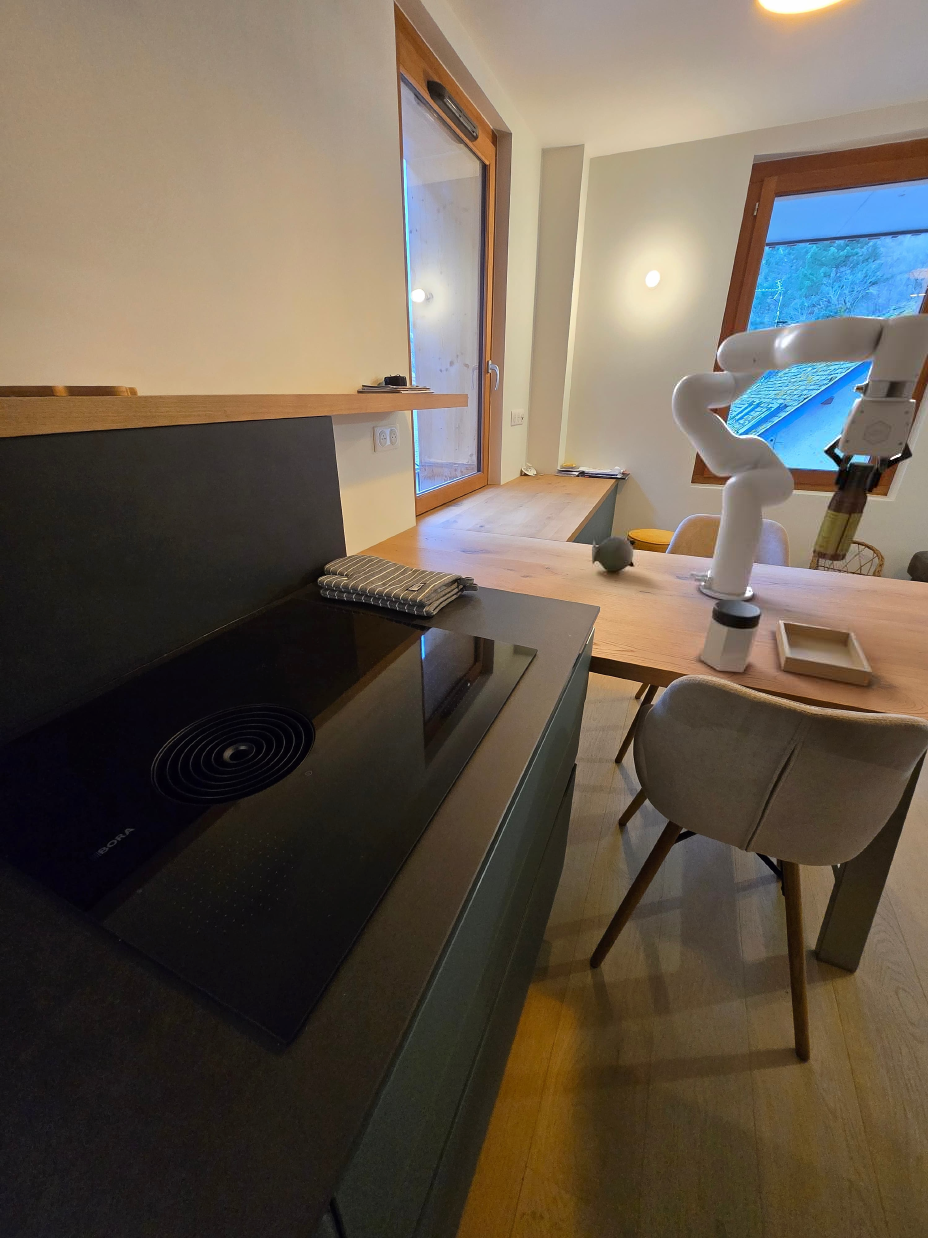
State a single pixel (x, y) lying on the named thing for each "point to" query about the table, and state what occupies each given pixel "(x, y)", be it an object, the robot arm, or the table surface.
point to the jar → (731, 635)
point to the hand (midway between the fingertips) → (853, 489)
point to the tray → (822, 653)
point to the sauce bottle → (843, 514)
